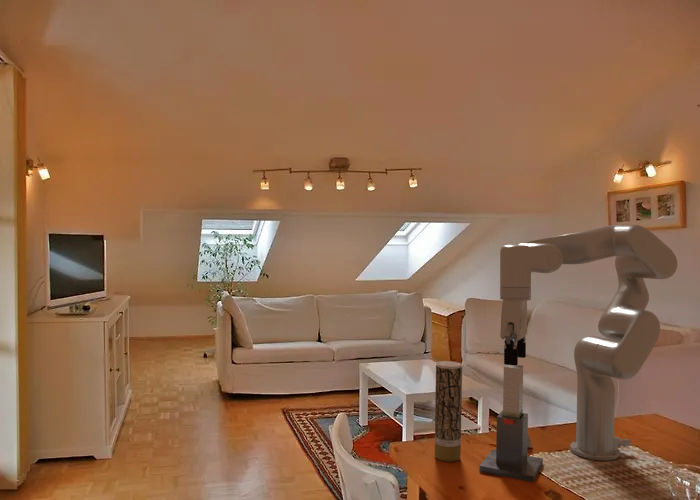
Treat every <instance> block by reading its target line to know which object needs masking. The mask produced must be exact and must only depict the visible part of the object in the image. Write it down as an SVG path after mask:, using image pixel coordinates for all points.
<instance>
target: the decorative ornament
mask: <svg viewBox="0 0 700 500" xmlns="http://www.w3.org/2000/svg"><path fill="white" fill-rule="evenodd" d="M532 444H533V443H532V439H531V438H530V434H528V444H527V448H530V449H534V447H533V445H532Z"/></svg>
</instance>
